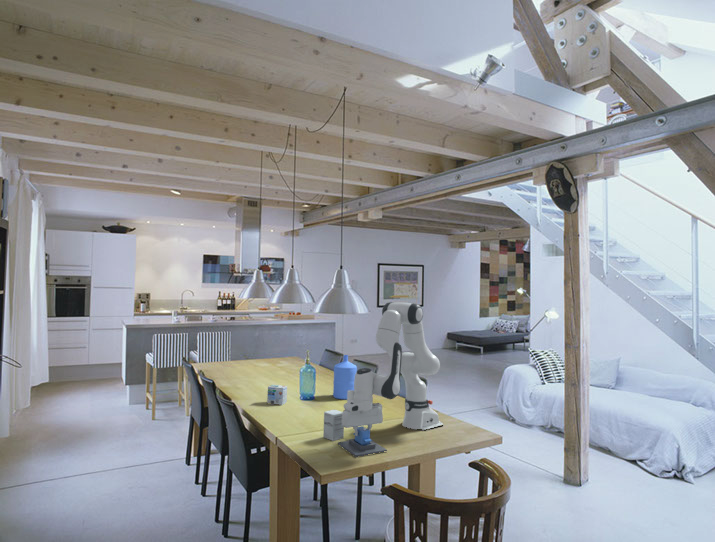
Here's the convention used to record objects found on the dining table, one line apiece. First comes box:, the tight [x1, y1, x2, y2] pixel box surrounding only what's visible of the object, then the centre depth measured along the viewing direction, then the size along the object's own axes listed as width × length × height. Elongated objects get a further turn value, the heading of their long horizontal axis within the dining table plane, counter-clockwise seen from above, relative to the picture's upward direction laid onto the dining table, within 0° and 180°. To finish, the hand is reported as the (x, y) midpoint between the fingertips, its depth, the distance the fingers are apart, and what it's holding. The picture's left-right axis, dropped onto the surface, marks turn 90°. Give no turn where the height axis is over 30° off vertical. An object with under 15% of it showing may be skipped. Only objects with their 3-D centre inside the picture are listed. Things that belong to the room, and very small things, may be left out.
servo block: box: [352, 426, 373, 445], centre depth 207 cm, size 4×12×7 cm, turn 28°
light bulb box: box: [266, 384, 288, 406], centre depth 282 cm, size 11×7×11 cm, turn 76°
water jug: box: [332, 354, 358, 400], centre depth 303 cm, size 16×16×28 cm
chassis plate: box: [337, 437, 388, 458], centre depth 207 cm, size 16×18×3 cm
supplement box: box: [322, 409, 345, 442], centre depth 220 cm, size 7×7×13 cm
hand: (362, 434), depth 207 cm, fingers closed on servo block, 4 cm apart
